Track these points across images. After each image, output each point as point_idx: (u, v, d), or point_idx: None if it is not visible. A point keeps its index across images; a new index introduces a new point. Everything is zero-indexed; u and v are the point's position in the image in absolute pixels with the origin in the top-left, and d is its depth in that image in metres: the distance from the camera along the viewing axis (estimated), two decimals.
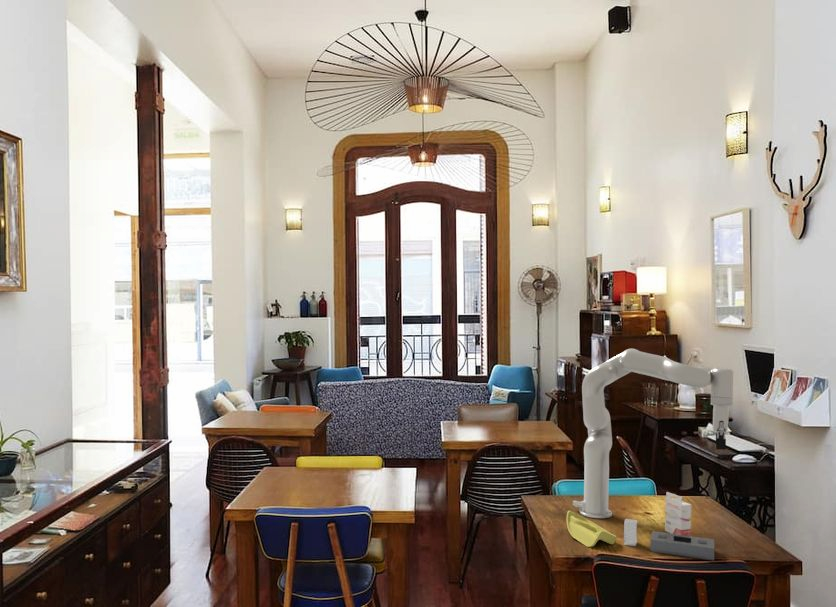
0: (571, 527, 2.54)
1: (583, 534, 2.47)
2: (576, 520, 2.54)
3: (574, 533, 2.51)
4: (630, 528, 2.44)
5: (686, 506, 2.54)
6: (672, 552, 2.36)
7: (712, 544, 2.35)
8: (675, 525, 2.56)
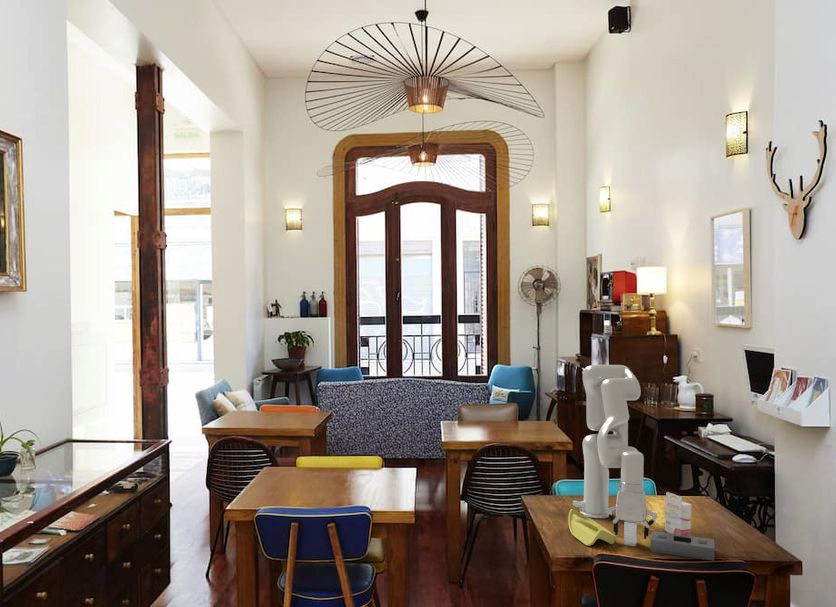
0: (572, 525, 2.55)
1: (583, 533, 2.48)
2: (578, 519, 2.55)
3: (575, 531, 2.52)
4: (630, 528, 2.44)
5: (686, 506, 2.54)
6: (672, 552, 2.36)
7: (712, 544, 2.35)
8: (675, 525, 2.56)
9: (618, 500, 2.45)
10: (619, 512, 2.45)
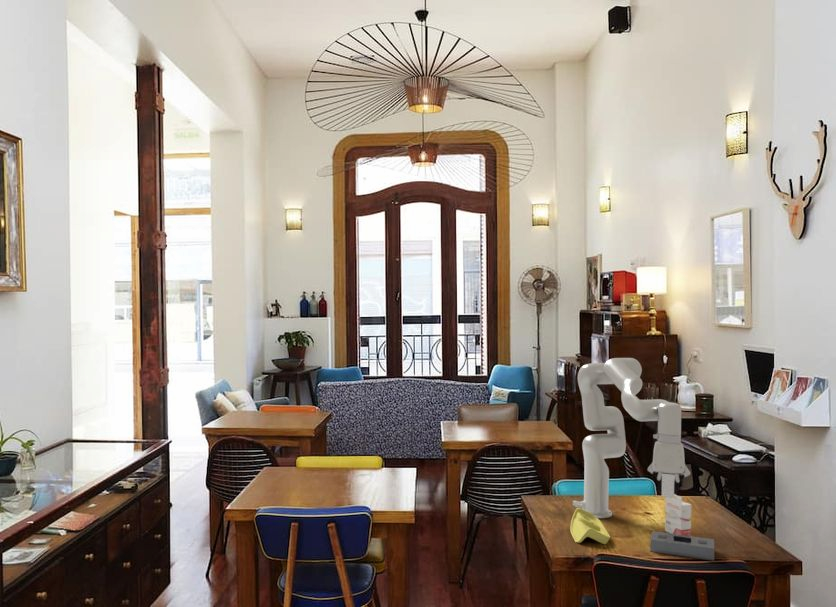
0: (574, 523, 2.58)
1: (578, 530, 2.51)
2: (579, 517, 2.58)
3: (573, 529, 2.55)
4: (668, 480, 2.39)
5: (686, 506, 2.54)
6: (672, 552, 2.36)
7: (712, 544, 2.35)
8: (675, 525, 2.56)
9: (655, 452, 2.41)
10: (656, 464, 2.40)
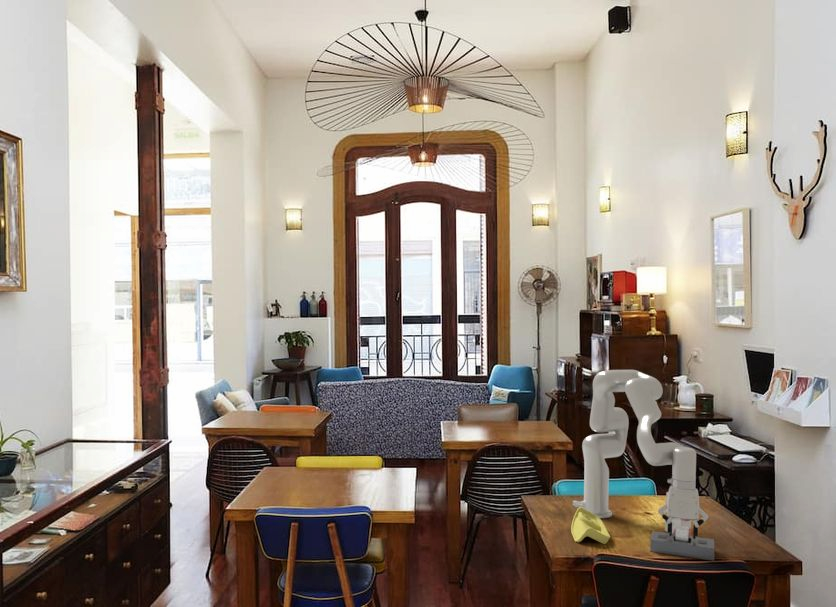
0: (575, 522, 2.59)
1: (578, 530, 2.52)
2: (580, 516, 2.59)
3: (574, 528, 2.56)
4: (682, 535, 2.38)
5: None
6: (672, 552, 2.36)
7: (712, 544, 2.35)
8: (675, 525, 2.56)
9: (670, 497, 2.39)
10: (671, 510, 2.39)
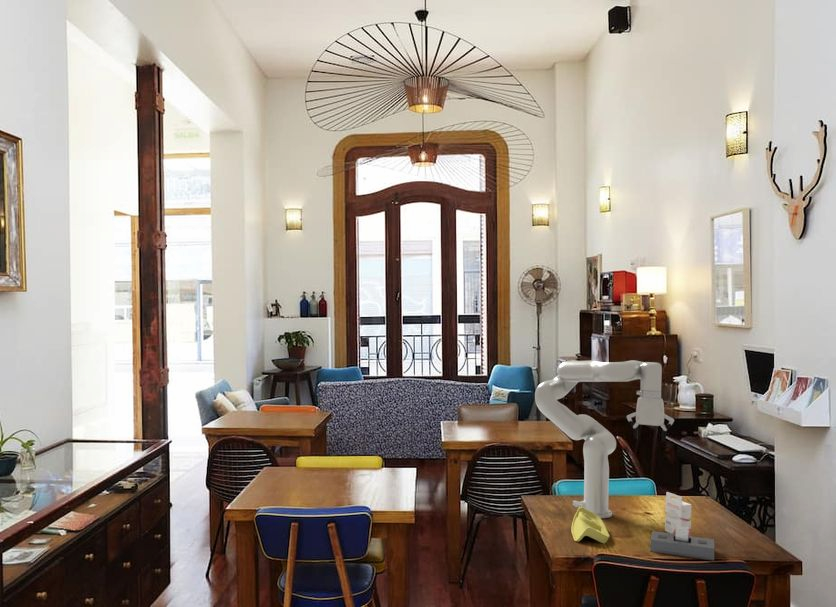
0: (575, 522, 2.60)
1: (578, 529, 2.53)
2: (581, 516, 2.59)
3: (574, 528, 2.57)
4: (682, 535, 2.38)
5: (686, 506, 2.54)
6: (672, 552, 2.36)
7: (712, 544, 2.35)
8: (675, 525, 2.56)
9: (638, 406, 2.68)
10: (639, 417, 2.67)
